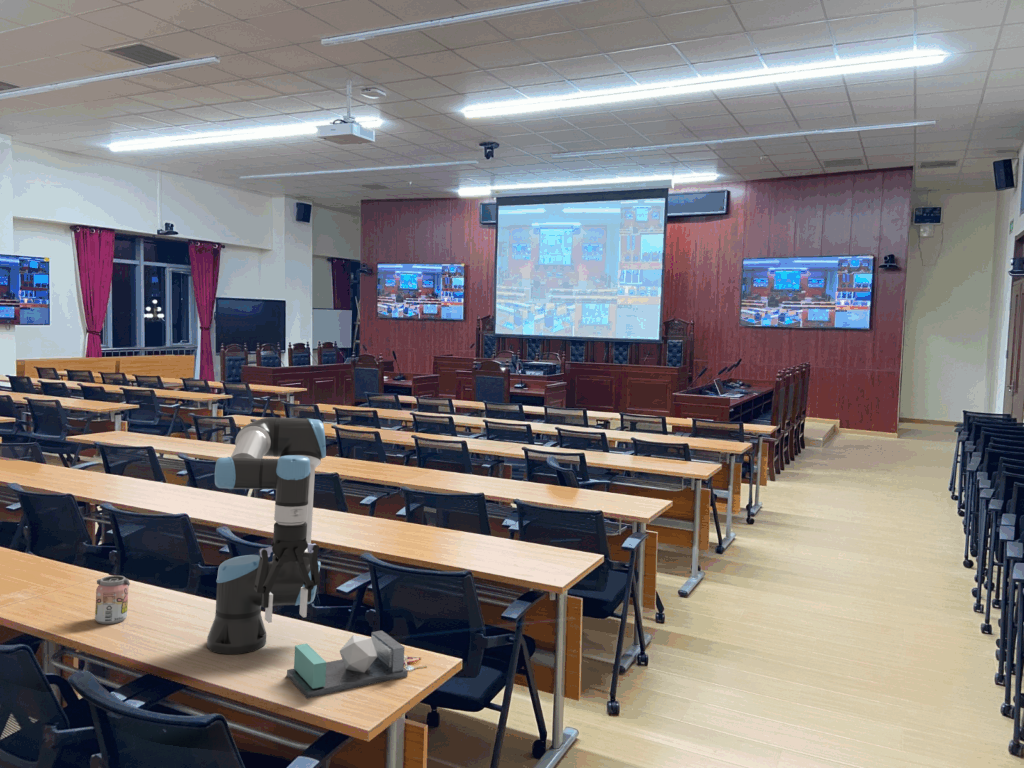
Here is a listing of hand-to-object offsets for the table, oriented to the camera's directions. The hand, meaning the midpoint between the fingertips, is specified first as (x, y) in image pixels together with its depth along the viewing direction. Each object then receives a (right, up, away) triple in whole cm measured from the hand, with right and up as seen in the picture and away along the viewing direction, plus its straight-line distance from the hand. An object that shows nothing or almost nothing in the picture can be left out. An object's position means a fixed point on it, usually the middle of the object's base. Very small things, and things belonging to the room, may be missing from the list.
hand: (285, 618), depth 174 cm
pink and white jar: (-62, -13, +39) cm, 74 cm away
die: (+15, -16, +11) cm, 25 cm away
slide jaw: (+5, -16, +4) cm, 17 cm away
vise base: (+12, -18, +10) cm, 24 cm away
